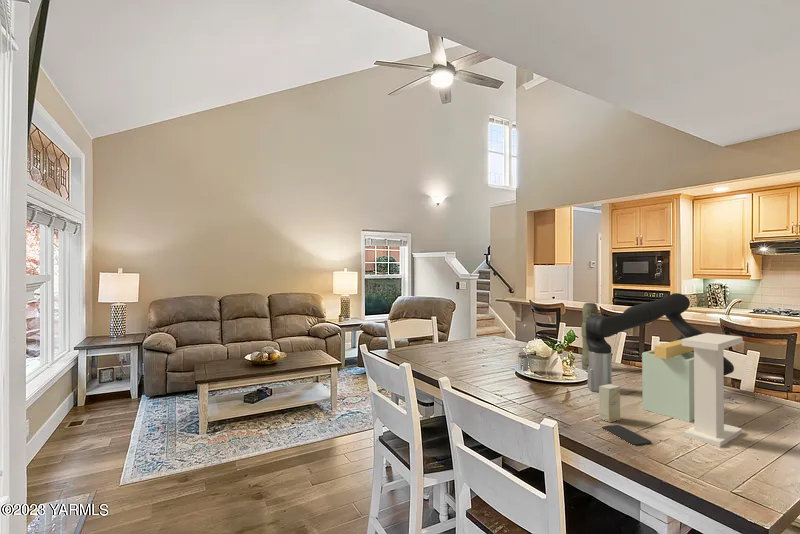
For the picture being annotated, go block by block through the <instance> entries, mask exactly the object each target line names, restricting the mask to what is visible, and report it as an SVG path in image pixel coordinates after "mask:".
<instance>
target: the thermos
mask: <svg viewBox="0 0 800 534" xmlns="http://www.w3.org/2000/svg"><path fill="white" fill-rule="evenodd" d="M582 306H583V307H582V312H581V313H582V322H581V323H582V324H581V327H580V328H581V337H582V352H581V369H582V370H586V371H588V366H589V348H588V345H587V341H586V322H587V319H588V318H589V317H590V316H592V315H599V307H598V305H597V304H596V303H595V302H594V303H593V302H585V303H583V305H582Z"/></svg>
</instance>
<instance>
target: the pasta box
mask: <svg viewBox="0 0 800 534" xmlns="http://www.w3.org/2000/svg"><path fill="white" fill-rule="evenodd" d="M653 350H654V357H658V358H664V359H667V358H671V357H674V356H678V355H681V354H684V353H688V352H691V351H694V347H689V346H682V339H681V340H677V339H676V340H674V341H669V342H665V343H661V344H658V345H654V348H653Z"/></svg>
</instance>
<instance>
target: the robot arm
mask: <svg viewBox="0 0 800 534" xmlns="http://www.w3.org/2000/svg"><path fill="white" fill-rule="evenodd" d="M690 305H691V301H690V299H689V297H688V296H686V295H685V294H682V293H678V292H677V293H676V292H675V293H671V294H670V295H667V296H664V297H662V298H660V299H657V300H651V301H648V302H644V303H639V304H636V305H633V306H629V307H627V308H626V309H625V310H624V311H623V312H622V313H620V314H616V315H613V316H612V315H611V316H605V315H600V314H598V315H592V316H590V317H589V318H588V319H587V322H586V341H587V345H588V348H589V366H588V370H587V388H588V389H589V391H590V392H596V393H599V386H602V385H607V384H612V383H613V382H612V380H613V379H612V378H613V373H612V370H613V369H612V365H613V363H612V361H613V360H612V346H611V344H609V343H608V342H607V341H606V339H605V338H610V337H612V336H615V335H617V334H619V333H621V332H624V331H626V330H629V329H634V328H637V327H641V326H644V325H647V324H650V323H652V322H654V321H656V320H658V319H660V318H662V317H664V316H665V317H666V318H667V319H668V320H669V322H671V323H672V325H673V326H674V327H675V328H676V330H678V331H679V332H680V333H681V334H678V336H677V338H676V341H677V340H681V339H685V338H689V337H693V336H697V335H701V334H704V332H702V331H701V330H699V329H697V327H694V326H692V325H691V324H689V322H687V321H686V320H685V319H684V318H683V316H682V314H683V313H684V312H686V311H687V310H688V309H689V308H690ZM691 352H694V351H691ZM723 366H724V376H727V375H729V374H732V373H734V370H735V366H734V365H733V363H732V362H731V361H730V360H729V359H728V358H727V357H725V356H724V355H723ZM612 385H613V384H612Z"/></svg>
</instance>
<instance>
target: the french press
mask: <svg viewBox="0 0 800 534" xmlns="http://www.w3.org/2000/svg"><path fill="white" fill-rule="evenodd" d="M523 327H524V328H525V329H524V331H525V342H523V343H520V344H517V348H520V349H523V350H519V351H518V356H517V359H518V363H517V364H518V369H519V370H522V367H523V371H527V370H528V369H529V368H528V366H529V365H528V358H527V355H526V353H525V352H526V351H525V350H524V349H527V348H526V346H527V343H528V342H527V335H526V334H527V328H528V324H523ZM518 369H517V370H518Z"/></svg>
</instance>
